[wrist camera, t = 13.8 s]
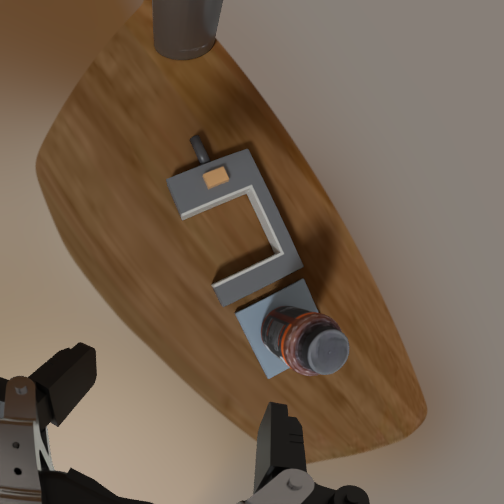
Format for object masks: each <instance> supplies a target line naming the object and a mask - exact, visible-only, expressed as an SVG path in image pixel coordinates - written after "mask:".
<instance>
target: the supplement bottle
mask: <svg viewBox="0 0 504 504" xmlns="http://www.w3.org/2000/svg"><path fill="white" fill-rule="evenodd" d="M261 338H262V341H263V343H264V345H265V347H266V348H267V349H268V350H269V351H270V352H271V353H273V354H274V355H275V356H276V357H278V358H279V359H280V360H281V361H283V362H284V363H285V364H286V365H288V366H289V367H290V368H291V369H293V370H294V371H296V372H298V373H300V374H303V375H308V376H314V375H318V374H323V375H327V374H332V373H334V372H336V371H337V370H339V369H340V368H341V367H342V366H343V365H344V363H345V362H346V360H347V358H348V355H349V342H348V339H347V337H346V336H345V335H344V334H343V333H342V331H341V329H340V327H339V326H338V324H337V323H336V322H335V321H334V320H333V319H332V318H330V317H329V316H326V315H324V314H321V313H317V312H313V311H309V310H305V309H301V308H297V307H293V306H281V307H278V308H276V309H274V310H272V311H271V312H270V313H269V314H268V315H267V316H266V317H265V319H264V321H263V323H262V326H261Z"/></svg>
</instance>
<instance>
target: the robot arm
mask: <svg viewBox="0 0 504 504" xmlns="http://www.w3.org/2000/svg"><path fill="white" fill-rule="evenodd" d="M222 3H223V0H152V6H153V34H154V46H155V49H156V50H157V51H158V53H160V54H161V55H163V56H165V57H167V58H171V59H177V60H187V59H193V58H196V57H199V56H202V55H204V54H206V53H207V52H208V51H209V50H210V49H211V48H212V47H213V44H214V41H215V36H216V31H217V26H218V21H219V17H220V12H221V7H222ZM96 376H97V370H96V351H95V349H94V348H93V347H90V346H88V345H86V344H84V343H81V342H80V343H78V344H77V345H75V346H74V347H73V348H72V349H70V348H66V349H64V350H61V351H59V352H57V353H56V354H55V355H54V356H53V357H52V358H50V359H49V360H48V361H47V362H45V363H44V364H43V365H42V366H41V367H40V368H38V369H37V370H36V371H35V372H34V373H33V374H31V375H30V376H29V377H24V376H16V377H13V378H11V379H10V380H7V379H4V378H1V377H0V504H153V503H150V502H146V501H139V500H132V499H127V498H122V497H118V496H116V495H115V494H113V493H112V492H110V491H109V490H108V489H106V488H105V487H103V486H102V485H101V484H99V483H98V482H97V481H95V480H94V479H92V478H90V477H88V476H86V475H84V474H82V473H80V472H78V471H76V470H74V469H72V468H70V470H69V472H68V473H65V472H61V471H55V470H54V467H53V464H52V459H51V453H50V446H49V438H48V429H47V425H48V424H49V423H50V422H51V423H52V424H54V425H56V426H57V427H59V425H60V424H61V423H62V422H63V420H64V419H65V418H66V417H67V416H68V415H69V413H70V412H71V411H72V410H73V409H74V407H75V406H76V405H77V404H78V403H79V401H80V400H81V399H82V398H83V397H84V396H85V394H86V393H87V392H88V391H89V390H90V388H91V387H92V386H93V385H94V383H95V380H96ZM303 443H304V440H303V431H302V426H301V424H300V422H299V421H298V419H297V418H296V417H289V416H288V408H287V405H285V404H279V403H274V402H269V404H268V406H267V409H266V412H265V414H264V417H263V419H262V422H261V424H260V427H259V431H258V437H257V452H256V466H255V480H254V494H253V496H251V497H250V498H249V499H247V500H246V501H240V502H238V503H237V504H370V503H369V498H368V495H367V494H366V492H365V491H364V490H362V489H361V488H359V487H357V486H351V485H347V486H343V487H341V488H339V489H338V490H334V489H330V488H327V487H323V486H320V485H318V484H316V483H315V482H314V481H313V479H312V477H311V476H310V475H309V474H308V473H307V470H306V460H305V450H304V444H303Z"/></svg>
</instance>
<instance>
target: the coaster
mask: <svg viewBox="0 0 504 504" xmlns="http://www.w3.org/2000/svg"><path fill="white" fill-rule="evenodd" d="M281 306H293V307H297V308H301V309H305V310H309V311H313V312H317V313H318V310H317V308H316V306H315V303H314V301H313V299H312V297H311V294H310V292H309V290H308V287H307V285H306V283H305V281H304V279H300V280H298V281H296V282H294V283H293V284H291V285H289V286H287V287H285V288H283V289H281V290H279V291H277V292H275V293H273V294H271V295H269V296H267V297H266V298H264V299H262V300H260V301H258V302H256V303H254V304H252V305H250V306H248V307H246V308H244V309H242V310H240V311H238V312H236V313H235V315H236V317H237V319H238V321H239V323H240V325H241V327H242V329H243V331H244V333H245V335H246V337H247V339H248V341H249V343H250V345H251V347H252V349H253V351H254V353H255V355H256V357H257V359H258V361H259V363H260V365H261V367H262V369H263V371H264V372H265V374H266V376H267V378H268V379H269V378H271V377H273V376H275V375H277V374H279V373H281V372H282V371H284V370H286V369H288V368H290V367H289V366H288V365H286V364H285V363H284V362H283V361H281V360H280V359H279V358H278V357H276V356H275V355H274V354H273V353H271V352H270V351H269V350H268V349H267V348H266V347H265V345H264V343H263V341H262V338H261V326H262V323H263V321H264V319H265V317H266V316H267V315H268V314H269V313H270V312H271V311H272V310H274V309H276V308H278V307H281Z"/></svg>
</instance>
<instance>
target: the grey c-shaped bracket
mask: <svg viewBox="0 0 504 504" xmlns="http://www.w3.org/2000/svg"><path fill="white" fill-rule="evenodd" d="M190 142H191V144H192V146H193V149H194V151H195V153H196V155H197V157H198V160H199V162H200V164H201V166H198V167H196V168H193V169H191V170H188V171H186V172H183V173H181V174H178V175H176V176H173V177H171V178H169V179H166V181H167V186H168V188H169V191H170V193H171V196H172V198H173V200H174V203H175V205H176V207H177V210H178V212H179V214H180V217H181V219H182V220H185V219H187V218H189V217H192V216H194V215H196V214H199V213H201V212H203V211H205V210H208V209H210V208H213V207H215V206H217V205H220V204H222V203H224V202H227V201H229V200H232V199H234V198H237V197H239V196H242V195H244V194H247V195H248V197H249V200H250V202H251V204H252V206H253V208H254V210H255V212H256V214H257V217H258V219H259V221H260V223H261V225H262V227H263V229H264V232H265V234H266V236H267V238H268V240H269V242H270V245H271V247H272V249H273V251H274V253H275V254H274V255H272V256H270V257H268V258H266V259H264V260H262V261H260V262H258V263H256V264H254V265H251V266H249V267H247V268H245V269H243V270H241V271H239V272H237V273H235V274H233V275H230V276H228V277H226V278H224V279H222V280H220V281H218V282H216V283H214V284H211V285H212V287H213V289H214V291H215V294H216V296H217V298H218V300H219V302H220V304H221V305H222V306H223V307H224V306H227V305H229V304H231V303H233V302H235V301H237V300H239V299H241V298H243V297H245V296H247V295H249V294H251V293H253V292H255V291H257V290H259V289H261V288H263V287H265V286H267V285H269V284H271V283H273V282H275V281H277V280H279V279H281V278H283V277H285V276H287V275H289V274H291V273H293V272H294V271H296V270H298V269H300V268H302V267H304V266H303V264H302V262H301V259H300V257H299V255H298V253H297V250H296V248H295V246H294V244H293V242H292V240H291V237H290V235H289V233H288V231H287V229H286V226H285V224H284V222H283V220H282V218H281V216H280V214H279V212H278V209H277V207H276V205H275V203H274V201H273V199H272V197H271V195H270V193H269V191H268V188H267V186H266V184H265V182H264V180H263V178H262V176H261V174H260V172H259V170H258V168H257V166H256V164H255V162H254V160H253V158H252V156H251V154H250V152H249V150H248V149H245V150H242V151H239V152H236V153H233V154H231V155H228V156H225V157H222V158H219V159H217V160H214V161H210V159H209V157H208V154H207V152H206V150H205V148H204V146H203V144H202V141H201V139H200V137H199V136H198V135H196V136H193V137H192V138H190Z"/></svg>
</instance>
